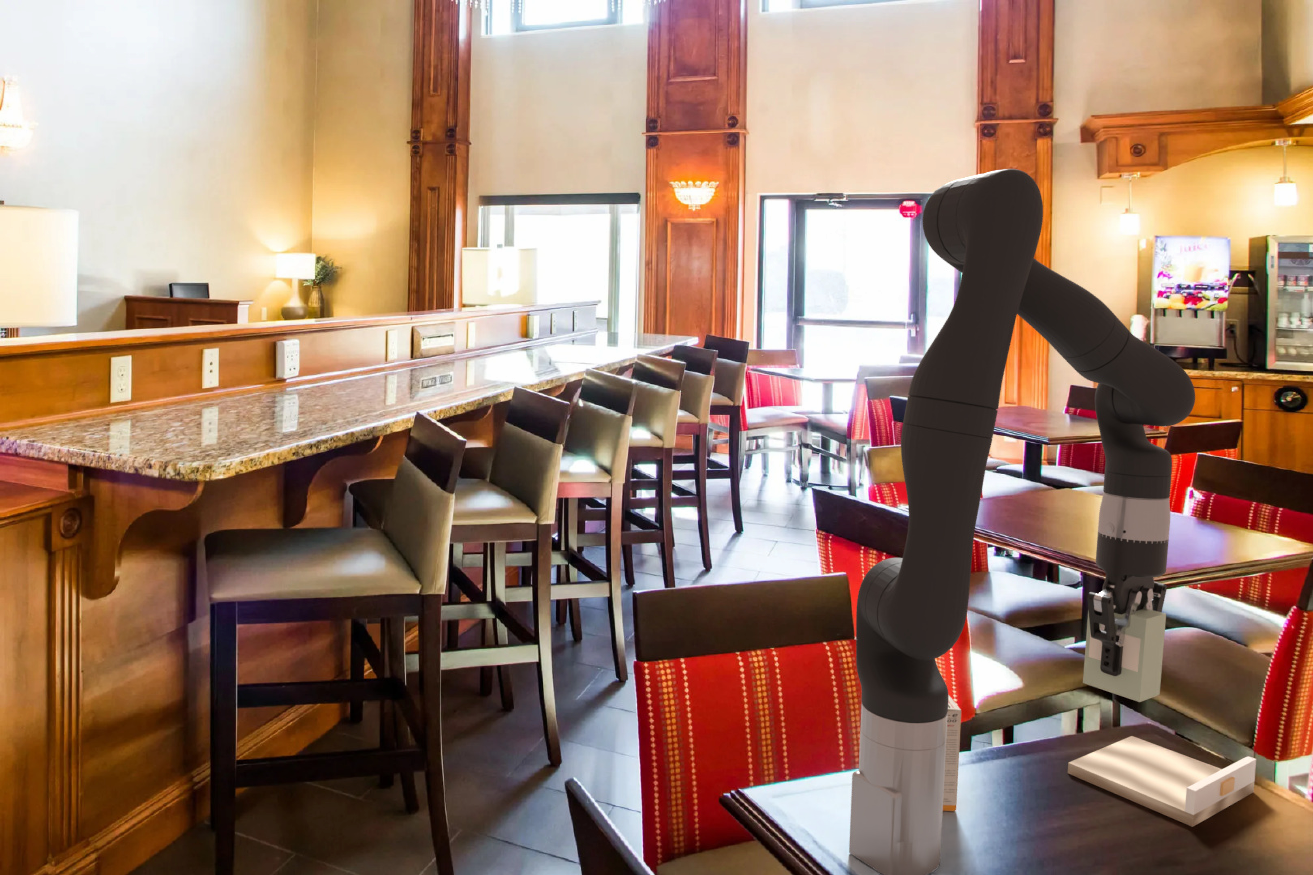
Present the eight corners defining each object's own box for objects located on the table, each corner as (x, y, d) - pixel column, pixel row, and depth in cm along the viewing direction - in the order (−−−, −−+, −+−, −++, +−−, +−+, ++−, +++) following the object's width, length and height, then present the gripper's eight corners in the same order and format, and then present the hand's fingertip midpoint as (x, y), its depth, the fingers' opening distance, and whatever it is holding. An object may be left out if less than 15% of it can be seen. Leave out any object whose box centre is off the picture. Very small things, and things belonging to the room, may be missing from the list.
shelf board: (1195, 827, 106) (1198, 792, 106) (1067, 773, 120) (1069, 741, 119) (1256, 793, 115) (1258, 759, 115) (1131, 745, 129) (1133, 715, 128)
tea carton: (1139, 702, 104) (1146, 619, 103) (1082, 682, 110) (1088, 604, 109) (1159, 694, 106) (1166, 613, 106) (1103, 676, 112) (1109, 599, 111)
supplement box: (958, 812, 109) (963, 709, 108) (919, 811, 109) (923, 708, 108) (938, 780, 117) (943, 684, 116) (901, 779, 117) (906, 683, 116)
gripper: (1132, 543, 99) (1120, 691, 101) (1195, 532, 107) (1183, 669, 109) (1069, 531, 105) (1059, 671, 107) (1133, 521, 113) (1123, 651, 115)
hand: (1122, 669), depth 108 cm, fingers closed on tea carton, 4 cm apart
